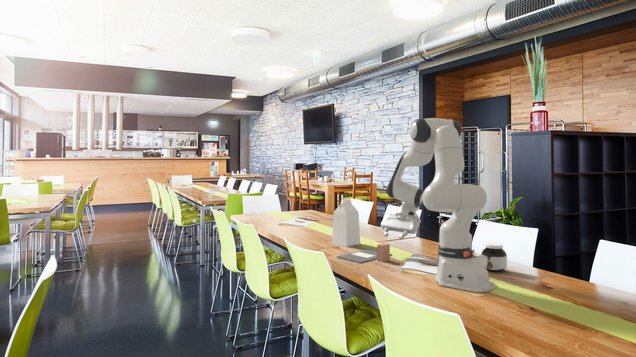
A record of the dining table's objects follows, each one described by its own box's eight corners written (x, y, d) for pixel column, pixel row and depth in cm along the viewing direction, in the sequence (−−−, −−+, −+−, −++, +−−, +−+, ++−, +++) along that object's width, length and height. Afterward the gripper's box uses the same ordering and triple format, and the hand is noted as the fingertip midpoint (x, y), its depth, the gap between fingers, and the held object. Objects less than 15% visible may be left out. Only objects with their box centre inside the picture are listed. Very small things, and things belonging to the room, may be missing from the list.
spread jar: (509, 270, 175) (509, 244, 174) (498, 276, 167) (498, 248, 167) (482, 265, 184) (482, 240, 183) (470, 270, 176) (470, 244, 175)
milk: (346, 246, 225) (346, 200, 224) (332, 243, 234) (331, 199, 233) (360, 243, 234) (360, 199, 232) (346, 240, 242) (346, 198, 241)
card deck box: (389, 260, 194) (389, 244, 194) (383, 262, 191) (383, 245, 190) (383, 259, 196) (383, 243, 196) (377, 260, 193) (377, 244, 193)
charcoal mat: (391, 255, 205) (391, 254, 205) (360, 263, 188) (360, 262, 188) (367, 250, 216) (367, 249, 216) (336, 257, 200) (336, 256, 200)
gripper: (385, 210, 210) (373, 230, 204) (419, 213, 195) (407, 236, 189) (390, 217, 213) (379, 238, 207) (424, 221, 198) (412, 244, 192)
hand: (392, 237), depth 198 cm, fingers open, 8 cm apart
